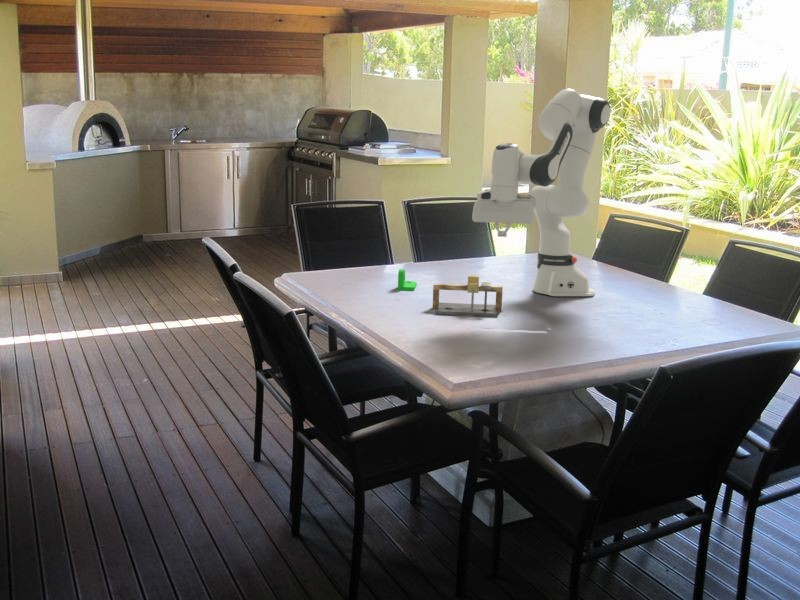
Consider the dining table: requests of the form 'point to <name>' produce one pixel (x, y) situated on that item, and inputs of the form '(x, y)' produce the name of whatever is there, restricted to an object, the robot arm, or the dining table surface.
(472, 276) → the slider leg
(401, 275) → the mechanical part
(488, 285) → the wooden frame rack
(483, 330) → the dining table surface
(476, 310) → the bolt plate
